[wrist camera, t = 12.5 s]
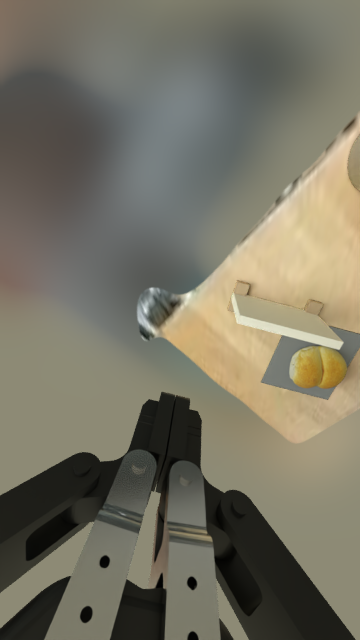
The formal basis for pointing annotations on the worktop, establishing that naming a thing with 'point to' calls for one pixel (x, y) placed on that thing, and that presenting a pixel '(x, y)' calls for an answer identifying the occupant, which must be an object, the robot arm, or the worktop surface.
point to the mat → (289, 346)
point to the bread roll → (317, 367)
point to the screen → (282, 318)
